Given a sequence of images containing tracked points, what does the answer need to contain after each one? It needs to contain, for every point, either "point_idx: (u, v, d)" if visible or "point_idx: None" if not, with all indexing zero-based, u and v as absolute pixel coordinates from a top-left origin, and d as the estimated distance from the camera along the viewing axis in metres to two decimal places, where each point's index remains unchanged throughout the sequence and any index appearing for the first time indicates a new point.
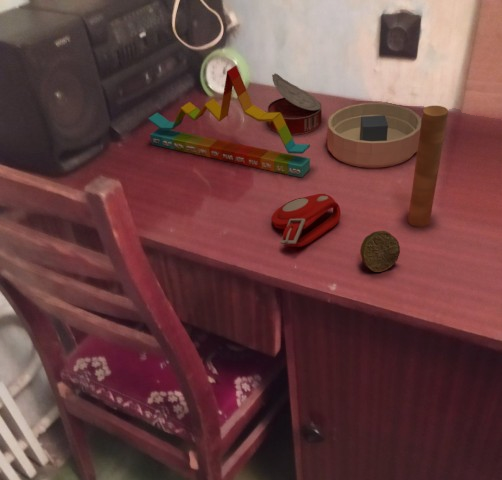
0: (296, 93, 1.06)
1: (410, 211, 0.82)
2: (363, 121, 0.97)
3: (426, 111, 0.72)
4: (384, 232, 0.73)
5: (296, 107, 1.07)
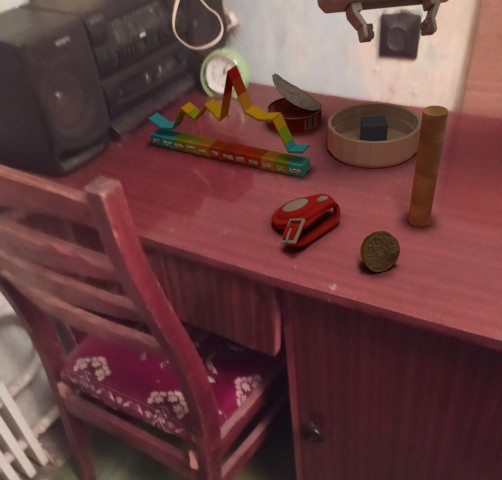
0: (296, 93, 1.06)
1: (410, 211, 0.82)
2: (363, 121, 0.97)
3: (426, 111, 0.72)
4: (384, 232, 0.73)
5: (296, 107, 1.07)
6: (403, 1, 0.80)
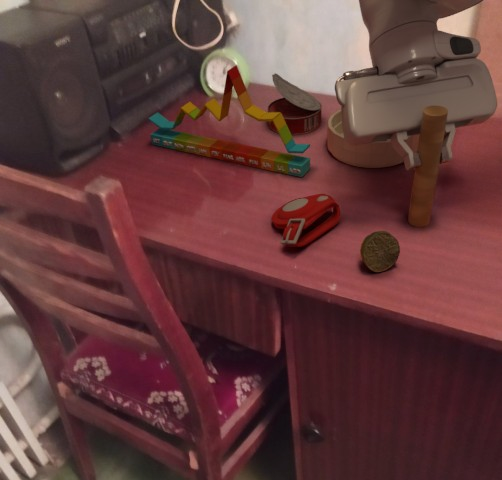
0: (296, 93, 1.06)
1: (410, 211, 0.82)
2: None
3: (426, 111, 0.72)
4: (384, 232, 0.73)
5: (296, 107, 1.07)
6: None
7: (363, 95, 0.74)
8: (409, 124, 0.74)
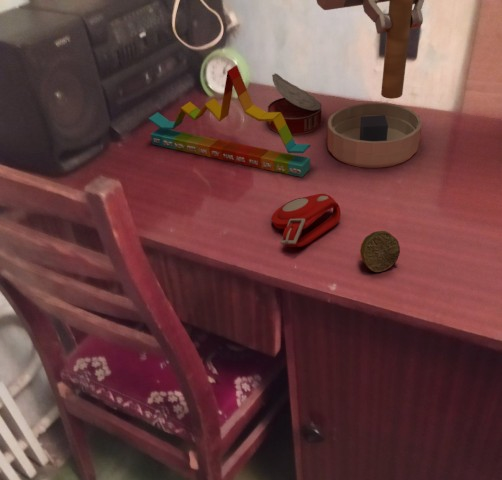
0: (296, 93, 1.06)
1: (383, 82, 0.83)
2: (363, 121, 0.97)
3: None
4: (384, 232, 0.73)
5: (296, 107, 1.07)
6: None
7: None
8: None
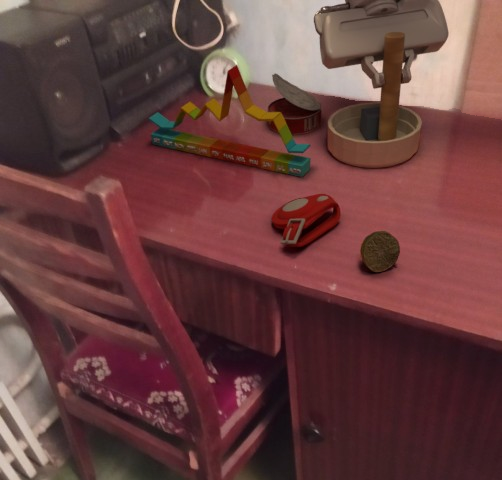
0: (296, 93, 1.06)
1: (379, 128, 0.97)
2: (365, 113, 0.99)
3: (387, 35, 0.88)
4: (384, 232, 0.73)
5: (296, 107, 1.07)
6: None
7: (336, 25, 0.90)
8: (375, 49, 0.90)
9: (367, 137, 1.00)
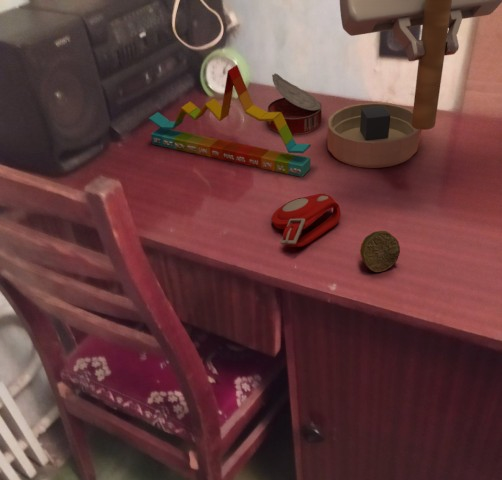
0: (296, 93, 1.06)
1: (414, 113, 0.76)
2: (365, 113, 0.99)
3: None
4: (384, 232, 0.73)
5: (296, 107, 1.07)
6: None
7: None
8: (412, 9, 0.69)
9: (367, 137, 1.00)
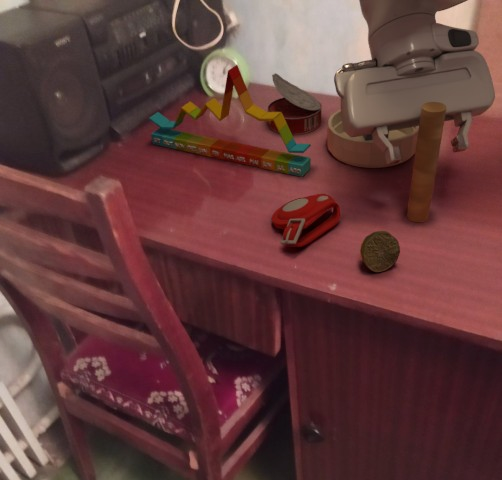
0: (296, 93, 1.06)
1: (409, 207, 0.82)
2: None
3: (425, 107, 0.73)
4: (384, 232, 0.73)
5: (296, 107, 1.07)
6: None
7: (362, 87, 0.75)
8: (408, 116, 0.75)
9: (367, 137, 1.00)
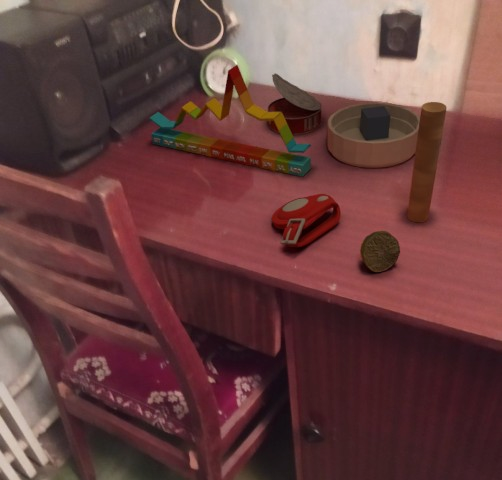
0: (296, 93, 1.06)
1: (409, 207, 0.82)
2: (365, 113, 0.99)
3: (425, 107, 0.73)
4: (384, 232, 0.73)
5: (296, 107, 1.07)
6: None
7: None
8: None
9: (367, 137, 1.00)
